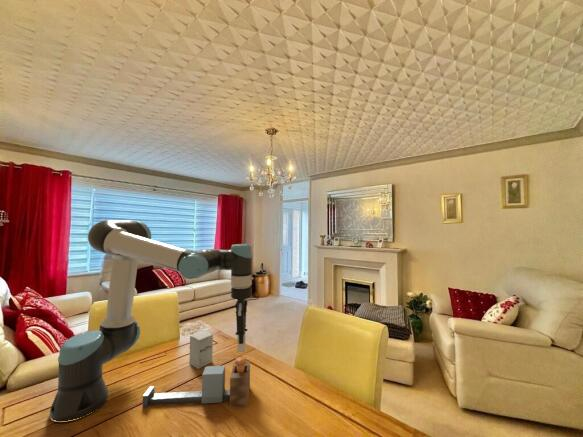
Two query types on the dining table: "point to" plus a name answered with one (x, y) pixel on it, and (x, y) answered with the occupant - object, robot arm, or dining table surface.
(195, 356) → the supplement box
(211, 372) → the block
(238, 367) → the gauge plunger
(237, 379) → the end block
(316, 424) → the dining table surface
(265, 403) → the dining table surface
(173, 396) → the rail
